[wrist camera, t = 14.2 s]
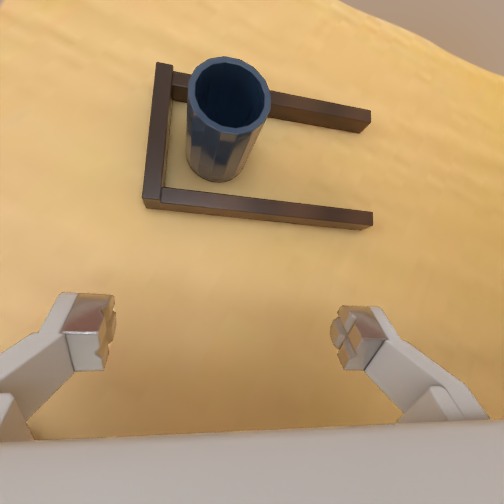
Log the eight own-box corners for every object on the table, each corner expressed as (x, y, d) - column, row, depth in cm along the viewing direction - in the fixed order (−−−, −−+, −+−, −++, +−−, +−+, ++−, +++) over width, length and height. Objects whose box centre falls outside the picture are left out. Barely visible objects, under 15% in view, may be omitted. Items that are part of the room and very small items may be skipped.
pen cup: (246, 131, 26) (271, 65, 18) (244, 185, 25) (270, 139, 18) (187, 122, 25) (190, 49, 17) (184, 178, 24) (185, 126, 17)
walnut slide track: (359, 121, 28) (375, 105, 26) (361, 230, 27) (378, 224, 24) (158, 83, 24) (156, 61, 22) (145, 208, 23) (141, 197, 20)
